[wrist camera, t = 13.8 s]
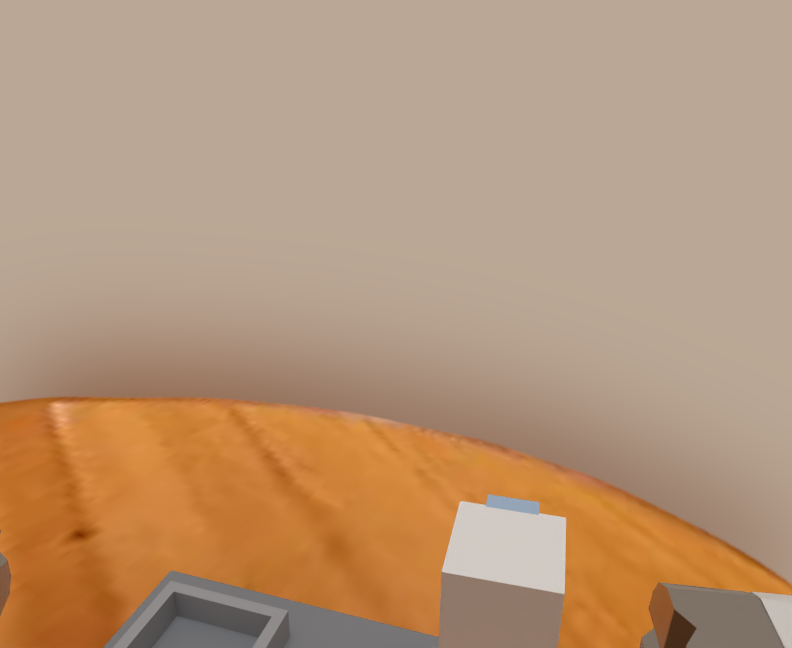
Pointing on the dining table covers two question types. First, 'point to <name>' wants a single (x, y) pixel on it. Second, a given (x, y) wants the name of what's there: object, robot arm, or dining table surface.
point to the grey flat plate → (248, 621)
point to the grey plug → (503, 577)
